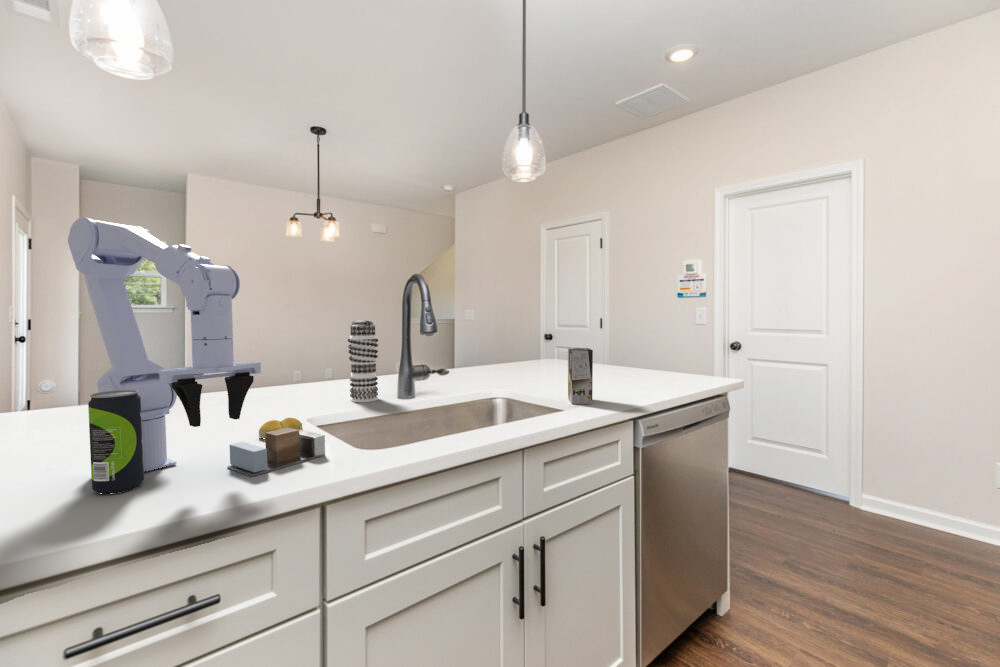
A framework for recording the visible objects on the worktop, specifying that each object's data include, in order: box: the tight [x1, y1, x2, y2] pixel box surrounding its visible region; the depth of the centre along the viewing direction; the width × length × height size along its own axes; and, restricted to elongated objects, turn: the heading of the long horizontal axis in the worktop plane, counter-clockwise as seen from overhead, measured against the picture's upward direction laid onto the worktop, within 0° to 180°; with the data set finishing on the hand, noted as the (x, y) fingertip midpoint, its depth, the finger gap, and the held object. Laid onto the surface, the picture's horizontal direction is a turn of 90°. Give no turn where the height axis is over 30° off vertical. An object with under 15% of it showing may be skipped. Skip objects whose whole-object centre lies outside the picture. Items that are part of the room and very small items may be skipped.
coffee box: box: [567, 347, 594, 405], centre depth 141 cm, size 9×6×16 cm
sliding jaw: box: [229, 441, 268, 473], centre depth 80 cm, size 2×8×4 cm, turn 56°
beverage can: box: [87, 390, 145, 495], centre depth 72 cm, size 6×6×15 cm
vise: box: [226, 429, 326, 478], centre depth 85 cm, size 14×8×4 cm, turn 146°
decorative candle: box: [347, 320, 379, 403], centre depth 146 cm, size 9×9×25 cm
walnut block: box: [264, 428, 300, 463], centre depth 85 cm, size 4×4×5 cm
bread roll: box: [258, 417, 303, 439], centre depth 103 cm, size 8×9×4 cm
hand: (215, 422), depth 76 cm, fingers open, 5 cm apart
